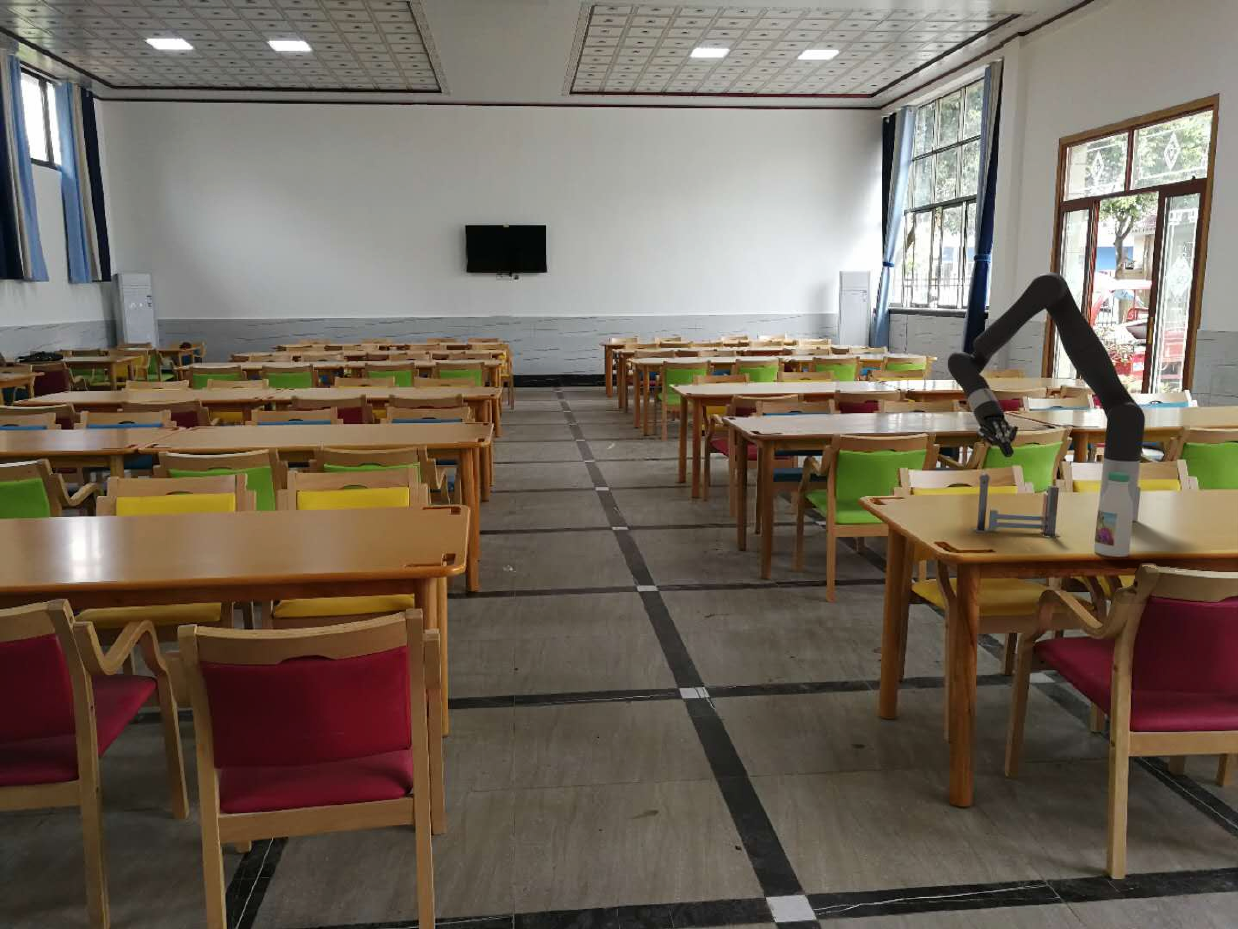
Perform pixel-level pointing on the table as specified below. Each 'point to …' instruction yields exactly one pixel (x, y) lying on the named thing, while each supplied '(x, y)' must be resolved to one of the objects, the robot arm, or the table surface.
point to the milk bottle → (1114, 518)
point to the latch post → (1051, 512)
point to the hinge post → (982, 503)
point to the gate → (994, 516)
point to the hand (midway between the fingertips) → (1009, 455)
